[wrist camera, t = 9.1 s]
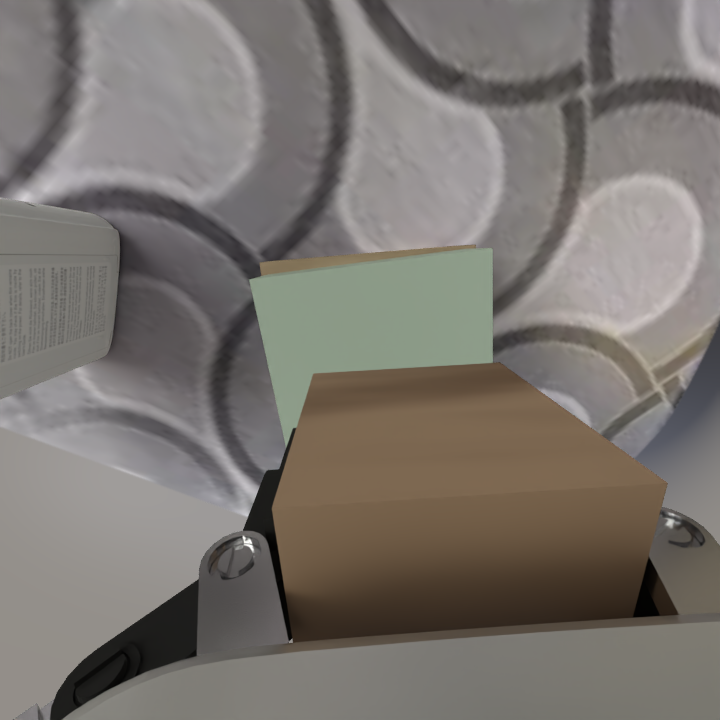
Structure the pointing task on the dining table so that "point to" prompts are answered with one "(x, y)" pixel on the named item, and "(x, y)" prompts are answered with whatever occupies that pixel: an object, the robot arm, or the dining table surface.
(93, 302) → the photo printer
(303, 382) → the sage top block
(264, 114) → the dining table surface
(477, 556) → the walnut cube
